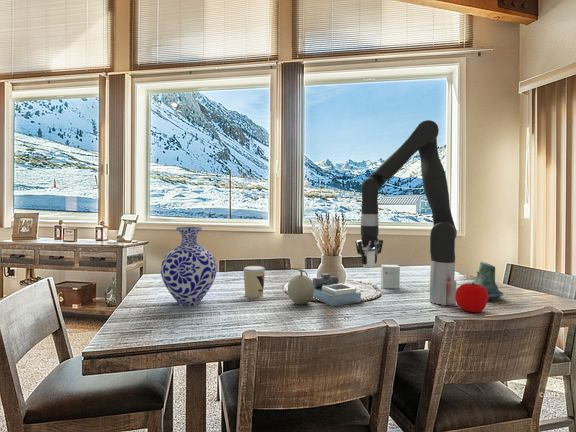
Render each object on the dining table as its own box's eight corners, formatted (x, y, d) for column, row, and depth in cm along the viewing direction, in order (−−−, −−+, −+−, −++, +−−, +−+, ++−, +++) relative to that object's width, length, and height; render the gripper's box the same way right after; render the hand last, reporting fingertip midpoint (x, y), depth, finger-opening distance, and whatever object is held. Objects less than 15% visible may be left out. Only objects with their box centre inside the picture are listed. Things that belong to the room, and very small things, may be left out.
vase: (159, 312, 138) (159, 230, 137) (162, 297, 159) (162, 226, 157) (218, 308, 144) (219, 229, 142) (214, 294, 164) (214, 225, 163)
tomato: (469, 316, 138) (470, 286, 137) (447, 307, 149) (448, 279, 148) (495, 314, 141) (497, 284, 141) (472, 305, 152) (473, 278, 152)
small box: (397, 286, 185) (398, 264, 184) (399, 288, 179) (400, 266, 179) (380, 285, 186) (381, 264, 185) (382, 288, 180) (382, 266, 180)
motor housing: (360, 302, 155) (361, 279, 155) (332, 306, 149) (332, 282, 148) (335, 292, 171) (335, 271, 171) (308, 295, 165) (308, 274, 164)
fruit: (318, 302, 155) (319, 265, 154) (305, 309, 145) (306, 270, 144) (296, 298, 160) (297, 263, 159) (282, 304, 150) (283, 267, 149)
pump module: (377, 267, 163) (377, 248, 163) (368, 268, 161) (368, 249, 160) (369, 265, 167) (370, 247, 167) (361, 266, 165) (361, 248, 165)
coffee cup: (261, 298, 159) (261, 270, 158) (240, 297, 161) (240, 269, 160) (267, 293, 168) (267, 266, 167) (247, 291, 170) (247, 265, 169)
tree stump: (454, 290, 181) (465, 254, 178) (500, 307, 170) (513, 269, 167) (446, 296, 165) (458, 257, 163) (496, 315, 155) (510, 274, 152)
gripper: (362, 225, 157) (361, 266, 157) (388, 224, 163) (387, 263, 164) (350, 224, 163) (350, 263, 164) (376, 223, 170) (376, 261, 171)
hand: (369, 263), depth 164 cm, fingers closed on pump module, 4 cm apart
